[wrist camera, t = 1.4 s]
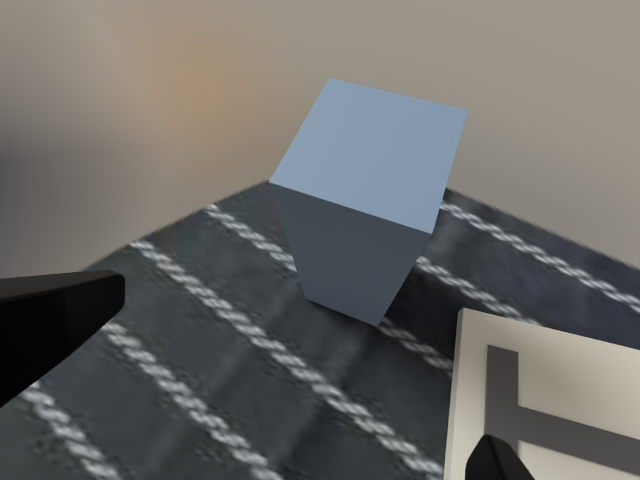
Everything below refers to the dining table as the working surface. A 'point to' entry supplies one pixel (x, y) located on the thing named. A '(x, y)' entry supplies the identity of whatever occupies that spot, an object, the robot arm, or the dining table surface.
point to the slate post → (364, 193)
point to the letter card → (544, 399)
